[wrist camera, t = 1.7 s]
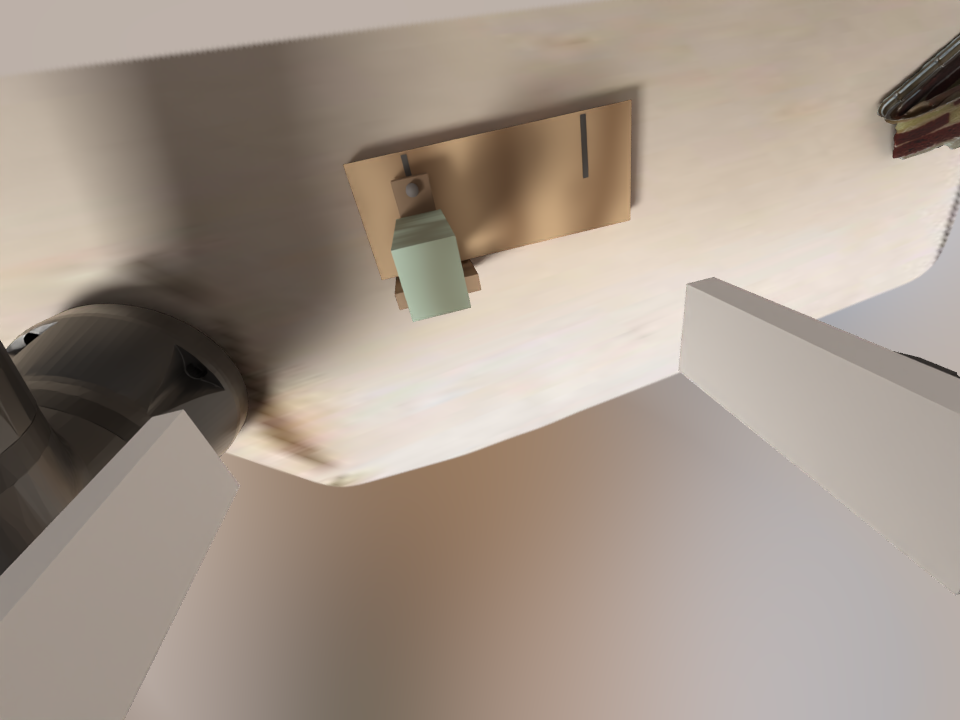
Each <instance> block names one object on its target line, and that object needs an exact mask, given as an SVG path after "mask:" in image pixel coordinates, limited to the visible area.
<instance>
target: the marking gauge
mask: <svg viewBox="0 0 960 720" xmlns="http://www.w3.org/2000/svg"><path fill="white" fill-rule="evenodd" d="M390 183H391V186H392V190H393V193H394V197H395V200H396V204H397V207H398V211H399V214H400V219H396V224H395V229H394V235H393V241H392V247H391V253H392V256H393V259H394V263H395V266H396V269H397V272H398V275H399V276H397V277H396V286H395V297H396V300H397V303H398V306H399V309H400V310H402V309H406V308H409V311H410V314H411V317H412V320H413V322H415V321H419V320H423V319H427V318H431V317H435V316H439V315H443V314H447V313H451V312H455V311H459V310H463V309H467V308H471V305H470V300H469V296H468V293H471V292H475V291H479V290H481V286H480V281H479V276H478V273H477V271H476V269H475V268H474V266H473V264H472V262H471V261H470V259H467V260H463V261H461V259H460V255H459V250H458V246H457V241H456V237H455V234H454V232H453V231H452V229H451V227H450V225H449V223H448V222H447V220H446V218H445V216H444V214H443V213H442V211H441V209H439V210H436V207H435V203H434V199H433V195H432V191H431V186H430V182H429V178H428V174H427V173H426V172H425V173H420V174H416V175H412V176H407V177H403V178H399V179H394V180H391V182H390Z"/></svg>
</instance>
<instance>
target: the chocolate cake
mask: <svg viewBox="0 0 960 720" xmlns="http://www.w3.org/2000/svg"><path fill="white" fill-rule="evenodd" d="M881 103H882V104H880V105H881V106H880V107H878V110H877V111H878V112H877V113H878V115H879V116H881V117H884V119H885V121H886V122H888V123H890V124H895V123H897V125H896V127H895V129H896V130H897V132H896V134H895V136H894V142H895V144H894V150H893V158H900V159H906V158H909V157H912V156H916V155H919V154H922V153H925V152H928V151H931V150H933V149H935V148H939V147H941V146H943V145H946V146H948V147H949V148H950V149H956V148H959V147H960V35H959V36H958V37H957V38H956V39H954V41H952V42H951V43H950V44H949V45H948V46H947V47H946V48H945V49H943V50H942V51H941V52H939V53H938V54H937V55H936V57H934V58H932V59H931V61H930V62H927V63H926V64H925V65H924V66H923V68H922V69H921V70H920V71H919V72H918V73H916V74H914V76H913V77H911V79H909V80H907V81H906V82H905V83H904V84H903V85H902V86H901V87H900V88H898V89H897V90H896V91H894V92H893V93H892V94H891V95H890V96H889V97H887V98H885V99H884V101H883V102H881Z"/></svg>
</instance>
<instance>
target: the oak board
mask: <svg viewBox="0 0 960 720" xmlns="http://www.w3.org/2000/svg"><path fill="white" fill-rule="evenodd" d="M343 166H344V169H345V172H346V175H347V178H348V181H349V184H350V187H351V190H352V193H353V196H354V199H355V202H356V205H357V208H358V211H359V213H360V216H361V219H362V222H363V225H364V228H365V231H366V234H367V237H368V240H369V243H370V246H371V249H372V252H373V255H374V258H375V261H376V264H377V267H378V270H379V273H380V276H381V279H382V280H384V279H389V278H393V277H397V276H399V275H398V272H397V269H396V266H395V263H394V259H393V256H392V253H391V247H392V241H393V235H394V229H395V224H396V219H400V214H399V211H398V207H397V204H396V200H395V197H394V193H393V190H392V186H391V183H390V182H391V180H394V179H399V178H403V177H407V176H412V175H416V174H420V173H425V172H426V173H427V174H428V178H429V182H430V186H431V191H432V195H433V199H434V203H435V207H436V210H439V209H441V211H442V213H443V214H444V216H445V218H446V220H447V222H448V223H449V225H450V227H451V229H452V231H453V232H454V234H455V237H456V241H457V246H458V250H459V255H460V259H461V261H463V260H467V259H471V258H475V257H480V256H484V255H488V254H492V253H496V252H500V251H504V250H509V249H513V248H517V247H521V246H525V245H529V244H533V243H538V242H542V241H546V240H550V239H554V238H558V237H562V236H567V235H571V234H575V233H579V232H583V231H587V230H591V229H596V228H600V227H604V226H608V225H612V224H616V223H620V222H625V221H629V220H630V197H631V100H627V101H623V102H618V103H614V104H610V105H605V106H601V107H596V108H592V109H587V110H583V111H579V112H574V113H570V114H565V115H561V116H556V117H552V118H548V119H543V120H539V121H534V122H530V123H525V124H521V125H517V126H512V127H508V128H503V129H499V130H494V131H490V132H485V133H481V134H477V135H472V136H468V137H463V138H459V139H454V140H450V141H446V142H441V143H437V144H432V145H428V146H423V147H419V148H415V149H410V150H406V151H401V152H397V153H392V154H388V155H384V156H379V157H375V158H370V159H366V160H361V161H357V162H353V163H348V164H344V165H343Z"/></svg>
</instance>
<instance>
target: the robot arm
mask: <svg viewBox="0 0 960 720" xmlns="http://www.w3.org/2000/svg"><path fill="white" fill-rule="evenodd" d="M678 371H679V372H681V373H682V374H683V375H684V376H686V377H687V378H688V379H689V380H690V381H692V382H693V383H694V384H695V385H697V386H698V387H699V388H700V389H702V390H703V391H704V392H705V393H706V394H708V395H709V396H710V397H711V398H713V399H714V400H715V401H716V402H718V403H719V404H720V405H721V406H723V407H724V408H725V409H726V410H727V411H729V412H730V413H731V414H732V415H734V416H735V417H736V418H737V419H738V420H740V421H741V422H742V423H743V424H745V425H746V426H747V427H748V428H750V429H751V430H752V431H753V432H755V433H756V434H757V435H758V436H759V437H761V438H762V439H763V440H764V441H766V442H767V443H768V444H769V445H771V446H772V447H773V448H774V449H775V450H777V451H778V452H779V453H780V454H782V455H783V456H784V457H785V458H787V459H788V460H789V461H790V462H791V463H793V464H794V465H795V466H796V467H798V468H799V469H800V470H801V471H803V472H804V473H805V474H806V475H807V476H809V477H810V478H811V479H812V480H814V481H815V482H816V483H817V484H819V485H820V486H821V487H822V488H823V489H825V490H826V491H827V492H829V493H830V494H831V495H832V496H833V497H835V498H836V499H837V500H839V502H841V503H842V504H843V505H844V506H846V507H847V508H848V509H849V510H851V511H852V512H853V513H854V514H856V515H857V516H858V517H859V518H860V519H862V520H863V521H864V522H865V523H867V524H868V525H869V526H870V527H872V528H873V529H874V530H875V531H877V532H878V533H879V534H880V535H881V536H883V537H884V538H885V539H886V540H888V541H889V542H890V543H891V544H893V545H894V546H895V547H896V548H897V549H899V550H900V551H901V552H902V553H904V554H905V555H906V556H907V557H908V558H910V559H911V560H912V561H913V562H915V563H916V564H917V565H918V566H920V567H921V568H922V569H923V570H924V571H926V572H927V573H928V574H929V575H931V576H932V577H933V578H934V579H936V580H937V581H938V582H939V583H941V584H942V585H943V586H944V587H946V588H947V589H948V590H949V591H951V592H952V593H953V594H954V595H958V594H960V377H959V376H958V375H957V372H954V371H952V370H949V369H946V368H944V367H942V366H939V365H937V364H934V363H932V362H929V361H926V360H924V359H922V358H919V357H915V356H911V355H907V354H903V353H898V352H895V351H891V350H889V349H887V348H884V347H882V346H879V345H877V344H874V343H872V342H869V341H867V340H864V339H862V338H859V337H858V336H855V335H852V334H850V333H848V332H845V331H843V330H841V329H838V328H836V327H833V326H831V325H829V324H826V323H824V322H821V321H819V320H816V319H814V318H812V317H809V316H807V315H804V314H802V313H799V312H797V311H795V310H792V309H790V308H787V307H785V306H783V305H780V304H778V303H775V302H773V301H770V300H768V299H766V298H763V297H761V296H758V295H756V294H754V293H751V292H749V291H746V290H744V289H741V288H739V287H737V286H734V285H732V284H729V283H727V282H724V281H722V280H720V279H717V278H715V277H712V278H708V279H704V280H700V281H696V282H692V283H688V284H687V285H686V296H685V306H684V317H683V327H682V338H681V348H680V359H679V369H678ZM247 412H248V394H247V389H246V386H245V383H244V380H243V378H242V376H241V374H240V372H239V370H238V368H237V367H236V365H235V364H234V363H233V361H232V360H231V359H230V357H229V356H228V355H227V354H226V353H225V352H224V351H223V350H222V349H221V348H220V347H219V346H218V345H217V344H216V343H215V342H213V341H212V340H211V339H210V338H208V337H207V336H206V335H204V334H203V333H201V332H200V331H198V330H197V329H195V328H193V327H192V326H190V325H188V324H186V323H184V322H182V321H180V320H178V319H176V318H173V317H171V316H168V315H166V314H163V313H160V312H157V311H153V310H150V309H146V308H142V307H136V306H131V305H123V304H93V305H85V306H80V307H76V308H72V309H69V310H66V311H64V312H61V313H59V314H57V315H55V316H53V317H51V318H49V319H46V320H44V321H42V322H40V323H38V324H36V325H34V326H32V327H31V328H29V329H27V330H26V331H25V332H23V333H22V334H21V335H19V336H18V337H17V338H16V339H15V340H14V341H13V342H12V343H11V344H10V345H9V346H8V348H7V349H5V347H4V346H3V344H2V342H1V341H0V720H124V719H125V717H126V715H127V713H128V711H129V709H130V707H131V705H132V703H133V701H134V699H135V697H136V695H137V693H138V691H139V689H140V687H141V685H142V683H143V681H144V679H145V677H146V675H147V673H148V671H149V669H150V666H151V665H152V663H153V661H154V659H155V656H156V655H157V652H158V650H159V648H160V646H161V644H162V642H163V640H164V638H165V636H166V634H167V632H168V630H169V628H170V626H171V624H172V622H173V620H174V618H175V616H176V614H177V612H178V610H179V608H180V606H181V604H182V602H183V600H184V598H185V596H186V594H187V592H188V590H189V588H190V586H191V584H192V582H193V580H194V578H195V576H196V574H197V572H198V570H199V568H200V566H201V564H202V562H203V560H204V558H205V556H206V554H207V552H208V550H209V548H210V545H211V544H212V541H213V540H214V537H215V535H216V533H217V531H218V529H219V527H220V525H221V523H222V521H223V519H224V517H225V515H226V513H227V511H228V509H229V507H230V505H231V503H232V501H233V499H234V497H235V495H236V493H237V491H238V489H239V487H240V484H239V483H238V481H237V480H236V479H235V478H234V476H233V475H232V473H231V472H230V471H229V469H228V468H227V467H226V465H225V464H224V463H223V461H222V460H221V459H220V456H222V455H223V454H224V453H225V451H226V450H227V449H228V448H229V447H230V446H231V444H232V443H233V441H234V440H235V438H236V436H237V435H238V433H239V431H240V430H241V428H242V426H243V424H244V422H245V419H246V416H247Z"/></svg>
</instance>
